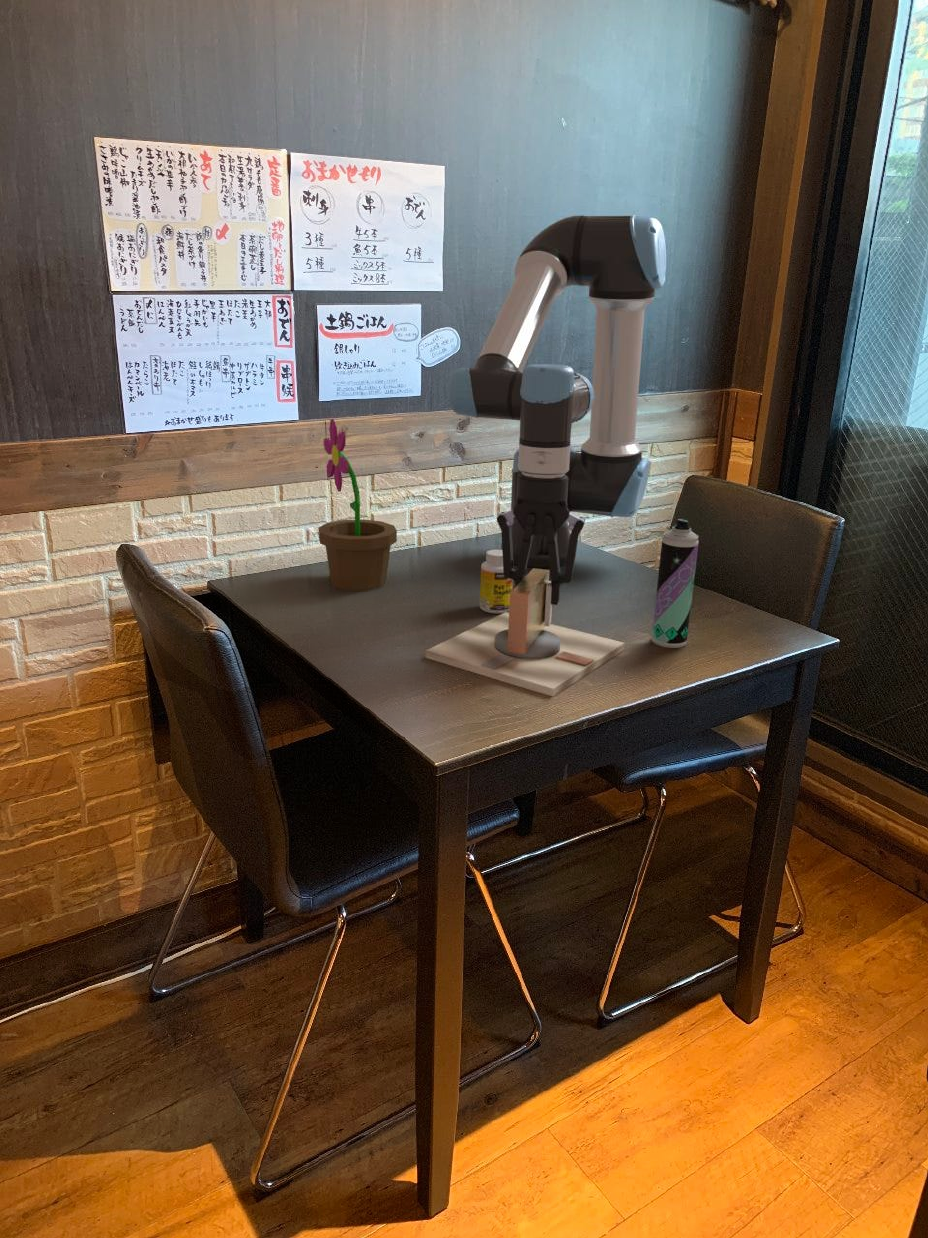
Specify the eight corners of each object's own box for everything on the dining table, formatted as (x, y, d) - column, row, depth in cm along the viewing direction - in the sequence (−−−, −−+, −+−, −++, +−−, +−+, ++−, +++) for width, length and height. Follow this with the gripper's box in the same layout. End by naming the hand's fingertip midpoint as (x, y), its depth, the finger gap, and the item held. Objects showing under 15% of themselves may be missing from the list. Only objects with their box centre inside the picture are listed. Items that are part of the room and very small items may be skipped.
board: (505, 618, 157) (506, 605, 156) (624, 650, 145) (625, 635, 144) (425, 657, 140) (426, 642, 139) (552, 696, 128) (553, 680, 127)
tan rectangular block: (529, 624, 148) (532, 567, 144) (546, 626, 147) (549, 569, 144) (507, 653, 136) (510, 592, 133) (525, 655, 135) (528, 595, 132)
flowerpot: (308, 575, 176) (304, 414, 165) (379, 567, 182) (378, 412, 172) (334, 598, 164) (331, 426, 154) (409, 589, 170) (410, 423, 160)
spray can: (645, 637, 150) (657, 516, 143) (673, 633, 152) (687, 514, 145) (664, 649, 146) (677, 525, 139) (693, 645, 147) (708, 522, 141)
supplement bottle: (491, 616, 157) (494, 558, 154) (473, 607, 162) (475, 550, 158) (518, 611, 160) (521, 554, 157) (499, 602, 165) (501, 546, 161)
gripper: (485, 474, 135) (480, 625, 143) (596, 481, 133) (585, 635, 140) (493, 465, 142) (489, 610, 150) (599, 471, 139) (589, 618, 147)
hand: (535, 622), depth 145 cm, fingers closed on tan rectangular block, 3 cm apart
